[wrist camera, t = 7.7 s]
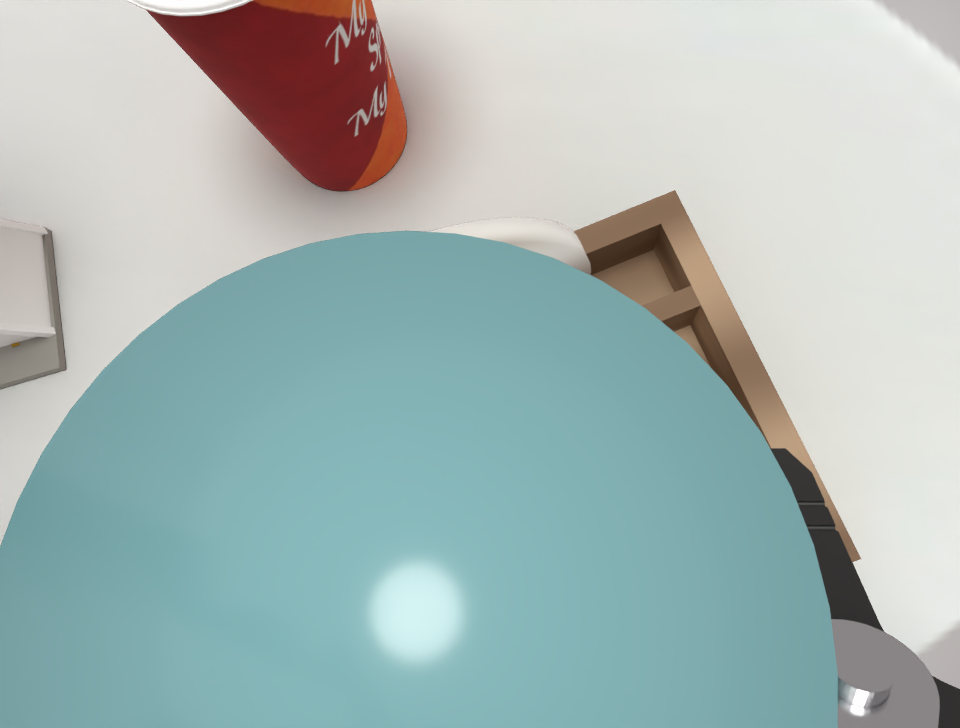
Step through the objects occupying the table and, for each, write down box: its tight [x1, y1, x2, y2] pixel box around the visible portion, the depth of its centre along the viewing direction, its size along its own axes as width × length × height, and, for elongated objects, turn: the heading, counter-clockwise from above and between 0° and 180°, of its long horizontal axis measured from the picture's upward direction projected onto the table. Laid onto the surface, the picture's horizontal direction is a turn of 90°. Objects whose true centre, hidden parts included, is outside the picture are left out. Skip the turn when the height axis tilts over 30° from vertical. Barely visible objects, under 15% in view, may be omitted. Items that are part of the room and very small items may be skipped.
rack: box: [429, 190, 861, 562], centre depth 22 cm, size 14×20×12 cm
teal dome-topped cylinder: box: [0, 231, 838, 728], centre depth 10 cm, size 6×6×11 cm
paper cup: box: [127, 0, 407, 191], centre depth 26 cm, size 8×8×14 cm
